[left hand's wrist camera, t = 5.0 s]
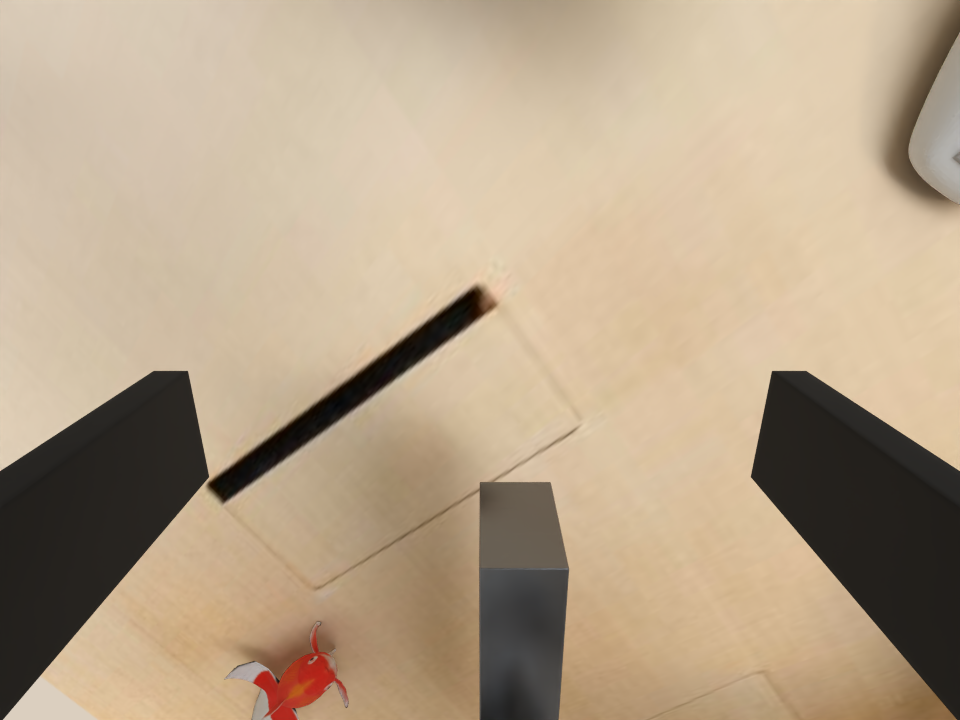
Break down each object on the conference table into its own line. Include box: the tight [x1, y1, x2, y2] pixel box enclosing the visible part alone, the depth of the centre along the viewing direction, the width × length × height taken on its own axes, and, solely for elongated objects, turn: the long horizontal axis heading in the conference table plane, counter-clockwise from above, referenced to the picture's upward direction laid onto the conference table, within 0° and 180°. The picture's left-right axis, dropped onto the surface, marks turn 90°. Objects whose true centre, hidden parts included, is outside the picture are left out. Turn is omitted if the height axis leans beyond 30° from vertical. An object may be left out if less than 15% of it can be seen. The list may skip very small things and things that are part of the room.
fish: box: [225, 622, 349, 720], centre depth 55 cm, size 11×16×10 cm
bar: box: [479, 482, 569, 720], centre depth 39 cm, size 33×5×8 cm, turn 0°
